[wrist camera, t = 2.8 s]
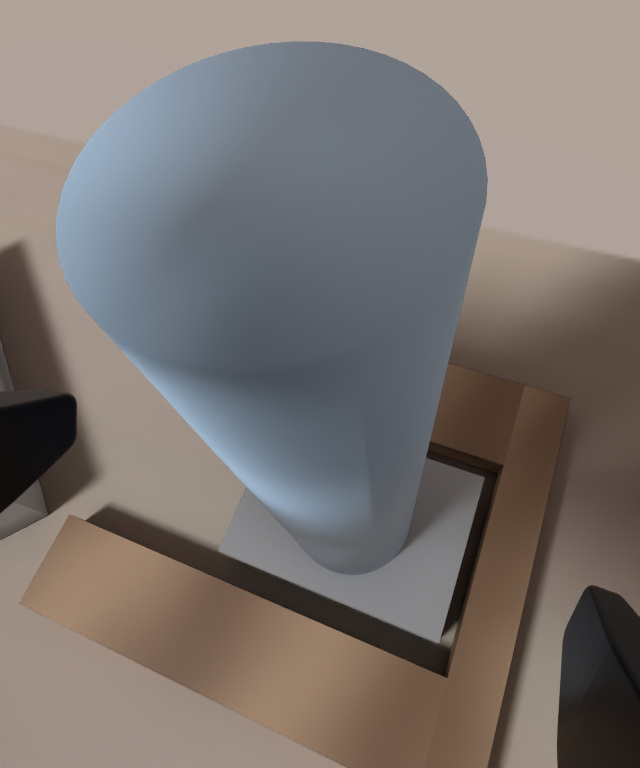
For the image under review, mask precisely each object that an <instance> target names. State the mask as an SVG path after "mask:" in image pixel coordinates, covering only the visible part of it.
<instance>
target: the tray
mask: <svg viewBox="0 0 640 768" xmlns="http://www.w3.org/2000/svg"><path fill="white" fill-rule="evenodd" d="M0 391H14V387H13V383H12V380H11V376H10V372H9V369H8V365H7V361H6V358H5V354H4V350H3V347H2V343H1V339H0ZM47 515H48V512H47V508H46V504H45V501H44V497H43V493H42V490H41V486H40V482H39V479H38V480H37V481H36V482H35V483H34V484H33V485H31V486H30V487H29V488H28V489H27V490H26V491H25V492H24V493H23V494H22V495H21V496H20V497H19V498H18V499H17V500H16V501H15V502H14V503H12V504H11V505H10V506H9V507H8V508H7V509H5V510H4V511H3V512H2V513H1V514H0V540H1V539H3V538H5V537H7V536H8V535H10V534H12V533H14V532H16V531H18V530H20V529H22V528H24V527H26V526H28V525H30V524H32V523H34V522H36V521H38V520H40V519H41V518H43V517H45V516H47Z"/></svg>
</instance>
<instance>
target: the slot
mask: <svg viewBox="0 0 640 768" xmlns="http://www.w3.org/2000/svg"><path fill="white" fill-rule="evenodd" d="M570 399H571V398H569V397H565V396H562V395H558V394H555V393H551V392H548V391H544V390H541V389H537V388H534V387H530V386H527V385H523V384H519V383H516V382H512V381H509V380H505V379H502V378H498V377H495V376H491V375H488V374H484V373H481V372H477V371H474V370H470V369H467V368H463V367H460V366H456V365H453V364H449V363H448V366H447V370H446V374H445V379H444V383H443V387H442V391H441V396H440V400H439V404H438V408H437V413H436V417H435V421H434V425H433V430H432V434H431V438H430V442H429V447H428V451H431V452H434V453H437V454H440V455H443V456H446V457H449V458H452V459H455V460H458V461H461V462H464V463H467V464H470V465H473V466H477V467H480V468H483V469H486V470H489V471H492V472H495V473H498V475H497V479H496V483H495V486H494V490H493V494H492V498H491V501H490V505H489V509H488V513H487V516H486V520H485V524H484V528H483V531H482V535H481V539H480V543H479V546H478V550H477V554H476V558H475V561H474V565H473V569H472V573H471V576H470V580H469V584H468V588H467V591H466V595H465V599H464V603H463V606H462V610H461V614H460V618H459V621H458V625H457V629H456V633H455V636H454V640H453V644H452V648H451V651H450V655H449V659H448V663H447V666H446V670H445V674H444V676H443V675H440V674H438V673H436V672H433V671H431V670H429V669H426V668H424V667H422V666H420V665H417V664H415V663H413V662H410V661H408V660H406V659H403V658H401V657H399V656H396V655H394V654H392V653H390V652H387V651H385V650H383V649H380V648H378V647H376V646H373V645H371V644H369V643H366V642H364V641H362V640H360V639H357V638H355V637H353V636H350V635H348V634H346V633H343V632H341V631H339V630H336V629H334V628H332V627H330V626H327V625H325V624H323V623H320V622H318V621H316V620H313V619H311V618H309V617H306V616H304V615H302V614H300V613H297V612H295V611H293V610H290V609H288V608H286V607H283V606H281V605H279V604H276V603H274V602H272V601H270V600H267V599H265V598H263V597H260V596H258V595H256V594H253V593H251V592H249V591H246V590H244V589H242V588H240V587H237V586H235V585H233V584H230V583H228V582H226V581H223V580H221V579H219V578H216V577H214V576H212V575H209V574H207V573H205V572H203V571H200V570H198V569H196V568H193V567H191V566H189V565H186V564H184V563H182V562H179V561H177V560H175V559H173V558H170V557H168V556H166V555H163V554H161V553H159V552H156V551H154V550H152V549H149V548H147V547H145V546H143V545H140V544H138V543H136V542H133V541H131V540H129V539H126V538H124V537H122V536H119V535H117V534H115V533H113V532H110V531H108V530H106V529H103V528H101V527H99V526H96V525H94V524H92V523H89V522H87V521H85V520H82V519H80V518H77V517H75V516H72V515H69V516H68V518H67V520H66V521H65V523H64V525H63V527H62V529H61V530H60V532H59V534H58V536H57V537H56V539H55V541H54V543H53V544H52V546H51V548H50V550H49V551H48V553H47V555H46V557H45V558H44V560H43V562H42V564H41V566H40V567H39V569H38V571H37V573H36V574H35V576H34V578H33V580H32V581H31V583H30V585H29V587H28V588H27V590H26V592H25V594H24V596H23V597H22V599H21V601H20V603H19V604H20V605H22V606H24V607H26V608H28V609H30V610H32V611H34V612H36V613H38V614H40V615H42V616H44V617H46V618H48V619H50V620H52V621H54V622H56V623H58V624H60V625H62V626H64V627H66V628H68V629H70V630H72V631H74V632H76V633H78V634H80V635H82V636H84V637H86V638H88V639H90V640H92V641H94V642H96V643H98V644H100V645H102V646H104V647H106V648H108V649H110V650H112V651H114V652H116V653H118V654H120V655H122V656H124V657H126V658H128V659H130V660H132V661H134V662H136V663H138V664H140V665H142V666H144V667H146V668H148V669H150V670H152V671H154V672H156V673H158V674H160V675H162V676H164V677H167V678H169V679H171V680H173V681H175V682H177V683H179V684H181V685H183V686H185V687H187V688H189V689H191V690H193V691H195V692H197V693H199V694H201V695H203V696H205V697H207V698H209V699H211V700H213V701H215V702H217V703H219V704H221V705H223V706H225V707H227V708H229V709H231V710H233V711H235V712H237V713H239V714H241V715H243V716H245V717H247V718H249V719H251V720H253V721H255V722H257V723H259V724H261V725H263V726H265V727H267V728H269V729H271V730H273V731H275V732H277V733H279V734H281V735H283V736H285V737H287V738H289V739H291V740H293V741H295V742H297V743H299V744H301V745H303V746H305V747H307V748H309V749H311V750H313V751H315V752H317V753H319V754H321V755H323V756H325V757H327V758H329V759H331V760H333V761H335V762H337V763H339V764H341V765H343V766H345V767H347V768H487V766H488V762H489V758H490V753H491V749H492V744H493V740H494V735H495V731H496V727H497V722H498V718H499V713H500V709H501V704H502V700H503V696H504V691H505V687H506V682H507V678H508V673H509V669H510V665H511V660H512V656H513V651H514V647H515V642H516V638H517V633H518V629H519V625H520V620H521V616H522V611H523V607H524V602H525V598H526V594H527V589H528V585H529V580H530V576H531V571H532V567H533V563H534V558H535V554H536V549H537V545H538V540H539V536H540V532H541V527H542V523H543V518H544V514H545V509H546V505H547V501H548V496H549V492H550V487H551V483H552V478H553V474H554V470H555V465H556V461H557V456H558V452H559V447H560V443H561V439H562V434H563V430H564V425H565V421H566V416H567V412H568V408H569V403H570Z"/></svg>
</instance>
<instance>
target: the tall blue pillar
mask: <svg viewBox="0 0 640 768" xmlns="http://www.w3.org/2000/svg"><path fill="white" fill-rule="evenodd" d="M487 180H488V179H487V170H486V161H485V156H484V153H483V149H482V146H481V142H480V139H479V136H478V134H477V133H476V131H475V129H474V127H473V125H472V123H471V121H470V119H469V117H468V116H467V115H466V113H465V112H464V111H463V109H462V108H461V107H460V105H459V104H458V102H457V101H456V100H455V99H454V98H453V97H452V96H450V94H449V93H448V92H447V91H446V90H445V89H444V88H443V87H442V86H440V85H439V84H437V83H436V82H435V81H433V80H432V79H430V78H429V77H428V76H427V75H425V74H424V73H422V72H420V71H418V70H417V69H415V68H413V67H411V66H410V65H408V64H406V63H404V62H401V61H399V60H397V59H394V58H392V57H389V56H387V55H384V54H381V53H378V52H374V51H371V50H367V49H364V48H359V47H354V46H348V45H343V44H335V43H325V42H283V43H270V44H264V45H258V46H251V47H246V48H241V49H237V50H233V51H229V52H225V53H222V54H218V55H215V56H212V57H209V58H206V59H204V60H200V61H198V62H196V63H193V64H191V65H189V66H187V67H184V68H182V69H179V70H177V71H175V72H174V73H172V74H170V75H168V76H166V77H164V78H162V79H160V80H158V81H157V82H155V83H154V84H152V85H151V86H149V87H148V88H146V89H144V90H143V91H141V92H140V93H138V94H137V95H135V96H134V97H133V98H132V99H130V100H129V101H128V102H126V103H125V104H124V105H123V106H121V107H120V108H119V109H118V110H117V111H116V112H115V113H114V114H113V115H112V116H111V117H110V118H108V119H107V121H105V122H104V123H103V124H102V126H101V127H100V128H99V129H98V130H97V131H96V133H95V134H94V135H93V136H92V137H91V139H90V140H89V141H88V142H87V144H86V145H85V147H84V148H83V150H82V151H81V153H80V154H79V156H78V157H77V159H76V161H75V163H74V165H73V167H72V169H71V171H70V173H69V175H68V177H67V179H66V182H65V185H64V188H63V191H62V194H61V197H60V200H59V206H58V212H57V217H56V244H57V250H58V256H59V262H60V265H61V267H62V270H63V273H64V276H65V279H66V281H67V283H68V285H69V287H70V288H71V290H72V292H73V294H74V295H75V297H76V299H77V300H78V302H79V303H80V304H81V305H82V307H83V308H84V309H85V310H86V311H87V313H88V314H89V315H90V316H91V317H92V318H93V320H94V321H95V322H96V323H97V324H98V325H99V326H100V327H101V328H102V329H103V331H104V332H105V333H106V334H107V335H108V336H109V337H110V338H111V339H112V340H113V341H114V343H115V344H116V345H117V346H118V347H119V348H120V349H121V350H122V351H123V352H124V353H125V355H126V356H127V357H128V358H129V359H130V360H131V361H132V362H133V363H134V364H135V366H136V367H137V368H138V369H139V370H140V371H141V372H142V373H143V374H144V375H145V376H146V378H147V379H148V380H149V381H150V382H151V383H152V384H153V385H154V386H155V387H156V388H157V390H158V391H159V392H160V393H161V394H162V395H163V396H164V397H165V398H166V399H167V401H168V402H169V403H170V404H171V405H172V406H173V407H174V408H175V409H176V410H177V411H178V413H179V414H180V415H181V416H182V417H183V418H184V419H185V420H186V421H187V422H188V423H189V425H190V426H191V427H192V428H193V429H194V430H195V431H196V432H197V433H198V434H199V436H200V437H201V438H202V439H203V440H204V441H205V442H206V443H207V444H208V445H209V446H210V448H211V449H212V450H213V451H214V452H215V453H216V454H217V455H218V456H219V457H220V458H221V460H222V461H223V462H224V463H225V464H226V465H227V466H228V467H229V468H230V469H231V471H232V472H233V473H234V474H235V475H236V476H237V477H238V478H239V479H240V480H241V481H242V483H243V484H244V485H245V486H246V489H245V491H244V494H243V496H242V498H241V500H240V503H239V505H238V507H237V509H236V512H235V514H234V516H233V518H232V520H231V523H230V525H229V527H228V529H227V532H226V534H225V536H224V538H223V540H222V543H221V545H220V547H219V549H218V551H219V552H221V553H223V554H225V555H227V556H229V557H231V558H234V559H236V560H238V561H241V562H243V563H245V564H248V565H250V566H253V567H255V568H257V569H260V570H262V571H265V572H267V573H269V574H272V575H274V576H276V577H279V578H281V579H284V580H286V581H288V582H291V583H293V584H296V585H298V586H300V587H303V588H305V589H307V590H310V591H312V592H315V593H317V594H319V595H322V596H324V597H327V598H329V599H331V600H334V601H336V602H338V603H341V604H343V605H346V606H348V607H350V608H353V609H355V610H358V611H360V612H362V613H365V614H367V615H369V616H372V617H374V618H377V619H379V620H381V621H384V622H386V623H389V624H391V625H393V626H396V627H398V628H400V629H403V630H405V631H408V632H410V633H412V634H415V635H417V636H420V637H422V638H424V639H427V640H429V641H431V642H434V643H439V642H440V638H441V635H442V631H443V628H444V624H445V620H446V617H447V613H448V609H449V606H450V602H451V599H452V595H453V591H454V588H455V584H456V580H457V577H458V573H459V570H460V566H461V562H462V559H463V555H464V551H465V548H466V544H467V541H468V537H469V533H470V530H471V526H472V522H473V519H474V515H475V512H476V508H477V504H478V501H479V497H480V493H481V490H482V486H483V483H484V479H485V477H482V476H479V475H476V474H473V473H470V472H467V471H464V470H461V469H458V468H455V467H452V466H449V465H446V464H443V463H440V462H437V461H434V460H431V459H428V458H426V455H427V451H428V447H429V442H430V438H431V434H432V430H433V425H434V421H435V417H436V413H437V408H438V404H439V400H440V396H441V391H442V387H443V383H444V379H445V374H446V370H447V366H448V362H449V357H450V353H451V349H452V345H453V340H454V336H455V332H456V328H457V323H458V319H459V315H460V311H461V306H462V302H463V298H464V294H465V289H466V285H467V281H468V277H469V272H470V268H471V264H472V260H473V255H474V251H475V247H476V243H477V238H478V234H479V230H480V226H481V221H482V217H483V213H484V209H485V204H486V195H487Z"/></svg>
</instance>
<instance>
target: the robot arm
mask: <svg viewBox="0 0 640 768" xmlns="http://www.w3.org/2000/svg"><path fill="white" fill-rule="evenodd" d="M76 434H77V402H76V399H75V397H74V396H73V395H71V394H69V393H66V392H64V391H61V390H58V389H54V388H48V389H32V390H16V391H0V514H1V513H2V512H3V511H4V510H5V509H7V508H8V507H9V506H10V505H11V504H12V503H14V502H15V501H16V500H17V499H18V498H19V497H20V496H21V495H22V494H23V493H24V492H25V491H26V490H27V489H28V488H29V487H30V486H31V485H33V484H34V483H35V482H36V481H37V480H38V479H39V478H40V477H41V476H42V475H43V474H44V473H45V472H46V471H47V470H48V469H49V468H50V467H51V466H52V465H53V464H54V463H55V462H56V461H57V460H58V459H59V458H60V457H61V456H62V455H64V454H65V453H66V452H67V451H68V450H69V449H70V448H71V446H72V445H73V443H74V441H75V439H76ZM557 761H558V768H640V617H639V616H638V615H637V613H636V612H635V611H634V610H633V609H632V608H631V607H630V605H629V604H628V603H627V602H626V601H625V600H624V599H623V598H622V597H621V596H620V595H619V594H617V593H614V592H611V591H608V590H606V589H603V588H600V587H597V586H594V585H591V586H588V587H587V588H586V589H585V590H584V592H583V594H582V596H581V598H580V600H579V602H578V604H577V606H576V608H575V610H574V612H573V614H572V616H571V618H570V620H569V622H568V624H567V627H566V629H565V633H564V637H563V646H562V663H561V680H560V697H559V714H558V732H557Z"/></svg>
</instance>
